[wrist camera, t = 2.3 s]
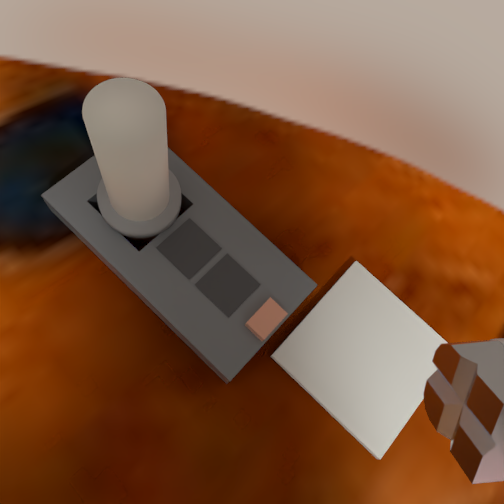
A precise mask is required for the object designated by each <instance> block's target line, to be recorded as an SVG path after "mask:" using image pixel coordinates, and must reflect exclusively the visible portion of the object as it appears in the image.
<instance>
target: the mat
mask: <svg viewBox="0 0 504 504" xmlns="http://www.w3.org/2000/svg"><path fill="white" fill-rule="evenodd" d="M444 343H447V342H446V341H445V340H444V339H443V338H442V337H441V336H440V335H439V334H437V333H436V332H435V331H434V330H433V329H432V328H431V327H430V326H429V325H427V324H426V323H425V322H424V321H423V320H422V319H421V318H420V317H419V316H417V315H416V314H415V313H414V312H413V311H412V310H411V309H410V308H409V307H407V306H406V305H405V304H404V303H403V302H402V301H401V300H400V299H399V298H397V297H396V296H395V295H394V294H393V293H392V292H391V291H390V290H389V289H387V288H386V287H385V286H384V285H383V284H382V283H381V282H380V281H379V280H377V279H376V278H375V277H374V276H373V275H372V274H371V273H370V272H369V271H367V270H366V269H365V268H364V267H363V266H362V265H361V264H360V263H359V262H357V261H355V262H354V263H353V264H352V265H351V266H350V267H349V268H348V270H347V271H346V272H345V273H344V274H343V275H342V276H341V277H340V279H339V280H338V281H337V282H336V283H335V284H334V285H333V286H332V288H331V289H330V290H329V291H328V292H327V293H326V294H325V295H324V297H323V298H322V299H321V300H320V301H319V302H318V303H317V304H316V306H315V307H314V308H313V309H312V310H311V311H310V312H309V313H308V315H307V316H306V317H305V318H304V319H303V320H302V321H301V322H300V324H299V325H298V326H297V327H296V328H295V329H294V330H293V331H292V333H291V334H290V335H289V336H288V337H287V338H286V339H285V340H284V341H283V343H282V344H281V345H280V346H279V347H278V348H277V349H276V350H275V352H274V353H273V354H272V355H271V356H270V357H271V358H272V359H273V360H274V361H275V362H276V363H277V364H279V365H280V366H281V367H282V368H283V369H284V370H285V371H286V372H287V373H288V374H289V375H290V376H291V377H292V378H293V379H294V380H295V381H296V382H297V383H298V384H299V385H300V386H301V387H302V388H303V389H305V390H306V391H307V392H308V393H309V394H310V395H311V396H312V397H313V398H314V399H315V400H316V401H317V402H318V403H319V404H320V405H321V406H322V407H323V408H324V409H325V410H326V411H327V412H328V413H329V414H331V415H332V416H333V417H334V418H335V419H336V420H337V421H338V422H339V423H340V424H341V425H342V426H343V427H344V428H345V429H346V430H347V431H348V432H349V433H350V434H351V435H352V436H353V437H354V438H355V439H356V440H358V441H359V442H360V443H361V444H362V445H363V446H364V447H365V448H366V449H367V450H368V451H369V452H370V453H371V454H372V455H373V456H374V457H375V458H376V459H379V460H380V459H381V458H382V457H383V455H384V454H385V452H386V451H387V450H388V448H389V447H390V445H391V444H392V442H393V441H394V440H395V438H396V437H397V435H398V434H399V433H400V431H401V430H402V428H403V427H404V425H405V424H406V423H407V421H408V420H409V418H410V417H411V415H412V414H413V413H414V411H415V410H416V408H417V407H418V406H419V404H420V403H421V401H422V400H423V398H424V389H425V385H426V381H427V379H428V378H429V377H430V376H431V375H432V374H433V373H434V372H435V371H436V370H437V369H436V367H435V365H434V363H433V362H432V360H433V357H434V354H435V351H436V349H437V348H438V347H439V346H440V345H441V344H444Z"/></svg>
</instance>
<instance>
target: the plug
mask: <svg viewBox="0 0 504 504" xmlns="http://www.w3.org/2000/svg"><path fill="white" fill-rule="evenodd" d="M82 115H83V120H84V123H85V126H86V129H87V132H88V135H89V138H90V141H91V144H92V147H93V151H94V154H95V157H96V160H97V163H98V166H99V169H100V172H101V175H102V179H101V181H100V183H99V185H98V189H97V202H98V206H99V209H100V211H101V214H102V216H103V218H104V220H105V221H106V223H107V224H108V225H109V226H110V227H111V228H112V229H113V230H115V231H116V232H118V233H120V234H122V235H125V236H127V237H128V238H130V239H132V240H135V241H142V242H143V241H151V240H153V239H154V238H155V237H156V236H158V235H159V234H160V233H162V232H164V231H165V230H166V229H168V228H169V227H170V226H171V225H172V224H173V223H174V221H175V220H176V218H177V217H178V215H179V212H180V208H181V188H180V185H179V182H178V180H177V178H176V177H175V175H174V174H173V173H172V172H171V171H170V170H169V169H168V147H167V123H166V107H165V103H164V101H163V99H162V97H161V95H160V94H159V93H158V92H157V91H156V90H155V89H154V88H153V87H152V86H150V85H149V84H147V83H145V82H143V81H140V80H137V79H133V78H114V79H110V80H106V81H104V82H102V83H100V84H98V85H97V86H95V87H94V88H93V89H92V90H91V91H90V92H89V93H88V95H87V96H86V98H85V100H84V103H83V107H82Z"/></svg>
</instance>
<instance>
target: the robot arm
mask: <svg viewBox="0 0 504 504" xmlns="http://www.w3.org/2000/svg"><path fill="white" fill-rule="evenodd" d="M432 362H433V363H434V365H435V367H436V369H437V370H436V371H435V372H434V373H433V374H432V375H431V376H430V377H429V378H428V379H427V381H426V385H425V389H424V403H425V409H426V412H427V415H428V417H429V420H430V421H431V423H432V424H433V426H434V427H435V429H436V431H438V432H439V433H441V434H442V435H444V436H445V437H447V438H449V439H450V440H451V448H450V452H451V453H452V455H453V456H454V458H455V459H456V461H457V462H458V464H459V465H460V467H461V468H462V470H463V471H464V472H465V474H466V475H467V477H468V478H469V480H470V481H471V483H472V484H476V483H486V482H496V481H504V338H500V339H491V340H484V341H471V342H457V343H444V344H441V345H440V346H439V347H438V348H437V349H436V351H435V354H434V357H433V360H432Z"/></svg>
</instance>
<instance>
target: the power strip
mask: <svg viewBox="0 0 504 504" xmlns="http://www.w3.org/2000/svg"><path fill="white" fill-rule="evenodd" d="M168 169H169V170H170V171H171V172H172V173H173V174H174V175H175V177H176V178H177V180H178V182H179V185H180V188H181V207H182V208H183V209H184V210H185V212H184V213H183V214H182V215H180V216H179V217H178V218H177V219H176V220H175V221H174V223H173V224H172V225H171V226H170V227H169V228H168V229H166V230H165V231H164V232H162V233H160V234H159V235H158V236H156V237H155V238H154V239H153V240H152V241H151V242H150V243H148V244H147V245H146V246H145V247H144V248H143V249H142V250H140V251H138V250H137V249H136V248H135V247H134V246H133V245H132V244H131V243H130V242H129V241H128V240H126V239H125V238H124V237H123V236H122V235H121V234H120V233H118V232H116V231H115V230H113V229H112V228H111V227H110V226H109V225H108V224H107V223H106V221H105V220H104V218H103V216H102V215H101V214H100V213H99V212H98V211H99V210H100V209H99V206H98V202H97V189H98V185H99V183H100V181H101V179H102V175H101V172H100V169H99V166H98V163H97V160H96V157H95V155H94V156H93V157H91V158H90V159H89V160H87V161H86V162H85V163H83V164H82V165H81V166H79V167H78V168H77V169H75V170H74V171H73V172H71V173H70V174H69V175H67V176H66V177H65V178H63V179H62V180H61V181H59V182H58V183H56V184H55V185H54V186H52V187H51V188H50V189H48V190H47V191H46V192H44V193H43V194H42V195H41V196H42V197H43V199H44V201H45V202H46V204H47V205H48V207H49V209H50V210H51V211H52V212H53V213H54V214H55V215H56V216H57V217H58V218H59V219H60V220H61V221H62V222H63V223H64V224H65V225H66V226H67V227H68V228H69V229H70V230H71V231H72V232H73V233H74V234H75V235H76V236H77V237H78V238H79V239H80V240H81V241H82V242H83V243H84V244H85V245H86V246H87V247H88V248H89V249H90V250H91V251H92V252H93V253H94V254H95V255H96V256H97V257H98V258H99V259H101V260H102V261H103V262H104V263H105V264H106V265H107V266H108V267H109V268H110V269H111V270H112V271H113V272H114V273H115V274H116V275H117V276H118V277H119V278H120V279H121V280H122V281H123V282H124V283H125V284H126V285H127V286H128V287H129V288H130V289H131V290H132V291H133V292H134V293H135V294H136V295H137V296H138V297H139V298H140V299H141V300H142V301H143V302H144V303H145V304H146V305H147V306H148V307H149V308H150V309H151V310H152V311H153V312H154V313H155V314H156V315H157V316H158V317H159V318H160V319H161V320H162V321H163V322H164V323H165V324H166V325H167V326H168V327H169V328H170V329H171V330H172V331H173V332H174V333H175V334H176V335H177V336H178V337H179V338H180V339H182V340H183V341H184V342H185V343H186V344H187V345H188V346H189V347H190V348H191V349H192V350H193V351H194V352H195V353H196V354H197V355H198V356H199V357H200V358H201V359H202V360H203V361H204V362H205V363H206V364H207V365H208V366H209V367H210V368H211V369H212V370H213V371H214V372H215V373H216V374H217V375H218V376H219V377H220V378H221V379H222V380H223V381H224V382H225V383H226V384H227V383H228V382H230V381H231V380H232V379H233V378H234V377H235V375H236V374H237V373H238V372H239V371H240V370H241V369H242V368H243V367H244V366H245V364H246V363H247V362H248V361H249V360H250V359H251V358H252V357H253V356H254V355H255V353H256V352H257V351H258V350H259V349H260V348H261V347H262V346H263V345H264V344H265V342H266V341H267V340H268V339H269V338H270V337H271V336H272V335H273V334H274V332H275V331H276V330H277V329H278V328H279V327H280V326H281V325H282V324H283V323H284V321H285V320H286V319H287V318H288V317H289V316H290V315H291V314H292V313H293V312H294V310H295V309H296V308H297V307H298V306H299V305H300V304H301V303H302V302H303V301H304V299H305V298H306V297H307V296H308V295H309V294H310V293H311V292H312V291H313V290H314V288H315V287H316V286H317V284H316V283H315V282H314V281H313V280H312V279H311V278H309V277H308V276H307V275H306V274H305V273H304V272H303V271H302V270H301V269H300V268H299V267H298V266H296V265H295V264H294V263H293V262H292V261H291V260H290V259H289V258H288V257H287V256H286V255H285V254H283V253H282V252H281V251H280V250H279V249H278V248H277V247H276V246H275V245H274V244H273V243H271V242H270V241H269V240H268V239H267V238H266V237H265V236H264V235H263V234H262V233H261V232H260V231H258V230H257V229H256V228H255V227H254V226H253V225H252V224H251V223H250V222H249V221H248V220H246V219H245V218H244V217H243V216H242V215H241V214H240V213H239V212H238V211H237V210H236V209H235V208H233V207H232V206H231V205H230V204H229V203H228V202H227V201H226V200H225V199H224V198H223V197H221V196H220V195H219V194H218V193H217V192H216V191H215V190H214V189H213V188H212V187H211V186H210V185H208V184H207V183H206V182H205V181H204V180H203V179H202V178H201V177H200V176H199V175H198V174H197V173H195V172H194V171H193V170H192V169H191V168H190V167H189V166H188V165H187V164H186V163H185V162H183V161H182V160H181V159H180V158H179V157H178V156H177V155H176V154H175V153H174V152H173V151H172V150H170V149H169V148H168Z"/></svg>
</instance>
